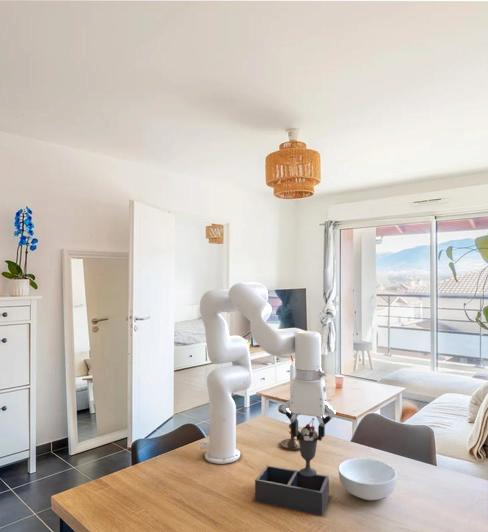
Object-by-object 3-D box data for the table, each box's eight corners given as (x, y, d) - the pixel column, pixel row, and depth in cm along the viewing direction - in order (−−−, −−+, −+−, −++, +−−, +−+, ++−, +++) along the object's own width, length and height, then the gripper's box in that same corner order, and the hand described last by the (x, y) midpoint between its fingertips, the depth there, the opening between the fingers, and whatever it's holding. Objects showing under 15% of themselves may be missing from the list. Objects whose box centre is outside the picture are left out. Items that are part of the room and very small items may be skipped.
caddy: (322, 515, 108) (322, 493, 108) (254, 501, 115) (254, 480, 115) (328, 496, 118) (328, 476, 118) (266, 484, 124) (266, 465, 125)
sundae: (322, 469, 116) (322, 417, 117) (315, 480, 110) (315, 425, 111) (300, 465, 119) (300, 414, 120) (293, 475, 113) (293, 421, 114)
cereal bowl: (357, 474, 131) (357, 452, 132) (407, 493, 119) (406, 469, 120) (327, 493, 119) (327, 469, 120) (378, 517, 108) (378, 490, 108)
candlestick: (279, 452, 148) (279, 356, 149) (277, 440, 159) (277, 351, 160) (308, 452, 148) (308, 356, 149) (304, 440, 159) (304, 351, 160)
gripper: (340, 374, 116) (340, 436, 116) (282, 369, 122) (282, 428, 122) (335, 380, 109) (336, 446, 109) (275, 374, 115) (275, 437, 115)
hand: (308, 436), depth 115 cm, fingers closed on sundae, 6 cm apart
